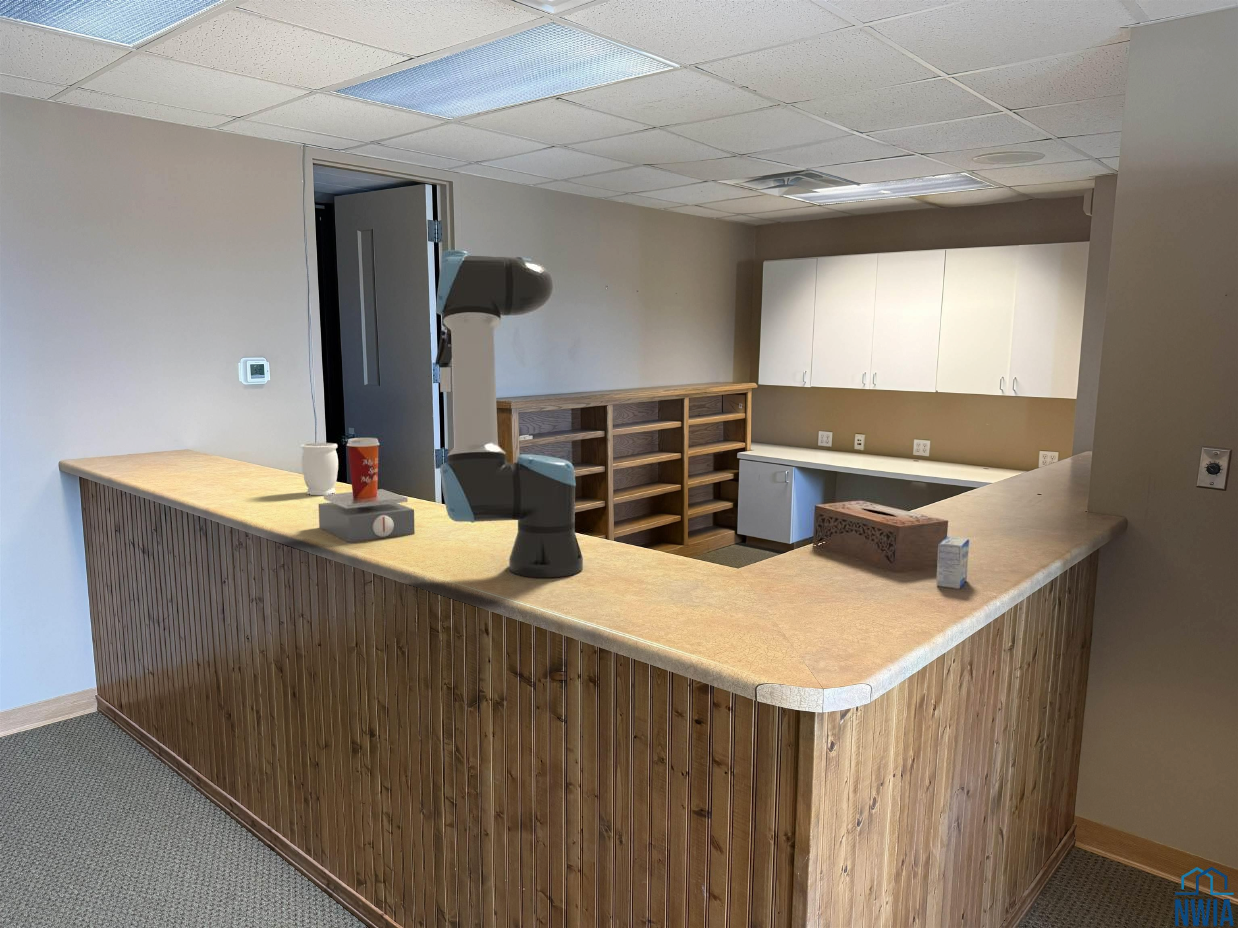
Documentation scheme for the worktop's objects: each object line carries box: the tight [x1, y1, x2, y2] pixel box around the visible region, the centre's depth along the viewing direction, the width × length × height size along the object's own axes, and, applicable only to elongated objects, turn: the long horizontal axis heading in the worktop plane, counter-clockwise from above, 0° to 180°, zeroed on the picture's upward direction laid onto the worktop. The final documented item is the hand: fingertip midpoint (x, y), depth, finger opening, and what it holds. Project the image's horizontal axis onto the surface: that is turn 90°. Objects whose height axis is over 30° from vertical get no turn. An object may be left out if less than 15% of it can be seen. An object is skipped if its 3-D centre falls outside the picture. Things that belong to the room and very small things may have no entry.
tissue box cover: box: [812, 500, 949, 573], centre depth 188 cm, size 26×14×10 cm, turn 28°
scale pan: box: [323, 488, 409, 509], centre depth 204 cm, size 15×15×2 cm
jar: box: [300, 442, 339, 496], centre depth 254 cm, size 11×10×15 cm
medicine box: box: [935, 536, 970, 590], centre depth 166 cm, size 8×4×9 cm, turn 148°
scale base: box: [318, 501, 416, 544], centre depth 205 cm, size 21×16×6 cm
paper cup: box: [346, 437, 381, 498], centre depth 203 cm, size 8×8×14 cm
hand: (457, 393), depth 222 cm, fingers open, 13 cm apart
